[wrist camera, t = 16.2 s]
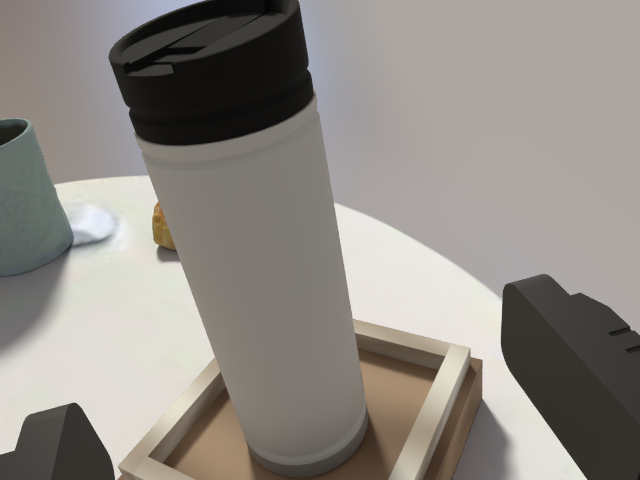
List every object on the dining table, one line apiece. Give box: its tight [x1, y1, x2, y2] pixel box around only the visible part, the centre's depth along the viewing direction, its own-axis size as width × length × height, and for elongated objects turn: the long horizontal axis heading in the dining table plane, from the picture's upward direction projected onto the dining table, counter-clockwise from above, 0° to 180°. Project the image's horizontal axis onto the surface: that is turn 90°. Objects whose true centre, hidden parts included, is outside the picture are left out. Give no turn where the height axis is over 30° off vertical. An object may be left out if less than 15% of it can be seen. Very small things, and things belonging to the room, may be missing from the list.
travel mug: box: [109, 0, 368, 478], centre depth 22 cm, size 6×7×20 cm
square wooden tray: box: [118, 319, 482, 480], centre depth 28 cm, size 14×14×4 cm
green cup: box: [0, 118, 74, 276], centre depth 51 cm, size 10×10×12 cm
